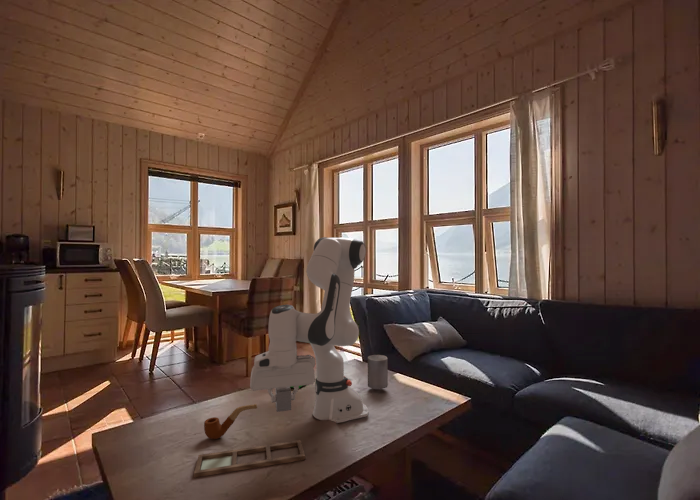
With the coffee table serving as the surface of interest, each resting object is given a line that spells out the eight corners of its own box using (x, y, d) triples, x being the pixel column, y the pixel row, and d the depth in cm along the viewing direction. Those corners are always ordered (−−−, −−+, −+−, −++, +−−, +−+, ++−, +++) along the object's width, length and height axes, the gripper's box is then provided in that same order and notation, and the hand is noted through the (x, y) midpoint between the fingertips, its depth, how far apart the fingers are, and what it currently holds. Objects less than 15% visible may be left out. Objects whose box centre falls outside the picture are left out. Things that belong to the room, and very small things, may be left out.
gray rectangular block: (289, 404, 118) (289, 384, 118) (291, 410, 114) (291, 389, 114) (275, 406, 117) (275, 386, 117) (276, 411, 112) (276, 391, 112)
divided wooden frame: (300, 443, 121) (300, 440, 121) (305, 459, 112) (305, 455, 112) (198, 458, 113) (198, 455, 113) (194, 477, 103) (194, 473, 103)
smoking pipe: (209, 446, 122) (207, 439, 127) (261, 419, 130) (258, 413, 135) (202, 426, 121) (201, 420, 127) (255, 400, 129) (252, 396, 134)
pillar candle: (368, 382, 180) (368, 351, 180) (388, 382, 179) (388, 352, 179) (366, 389, 170) (366, 357, 170) (387, 390, 169) (387, 357, 169)
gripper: (313, 351, 121) (313, 393, 121) (250, 357, 116) (250, 400, 115) (316, 356, 115) (317, 400, 115) (250, 362, 110) (250, 408, 109)
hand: (283, 400), depth 115 cm, fingers closed on gray rectangular block, 4 cm apart
